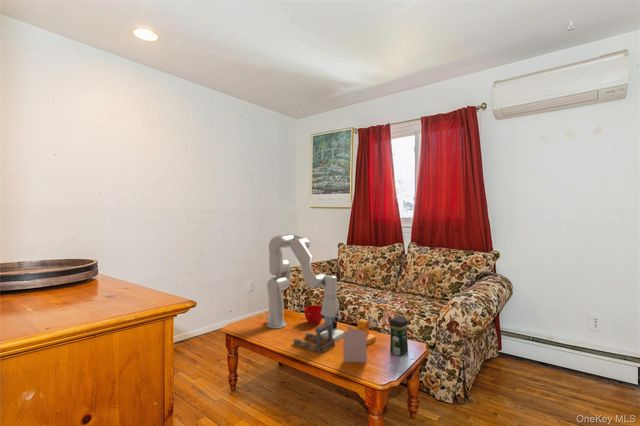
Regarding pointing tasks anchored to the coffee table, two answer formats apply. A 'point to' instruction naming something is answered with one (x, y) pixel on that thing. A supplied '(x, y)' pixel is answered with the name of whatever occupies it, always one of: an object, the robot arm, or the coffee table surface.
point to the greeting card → (354, 346)
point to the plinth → (333, 334)
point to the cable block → (329, 319)
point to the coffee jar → (398, 336)
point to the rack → (314, 347)
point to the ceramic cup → (313, 314)
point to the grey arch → (323, 328)
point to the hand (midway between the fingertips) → (330, 326)
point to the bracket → (366, 330)
